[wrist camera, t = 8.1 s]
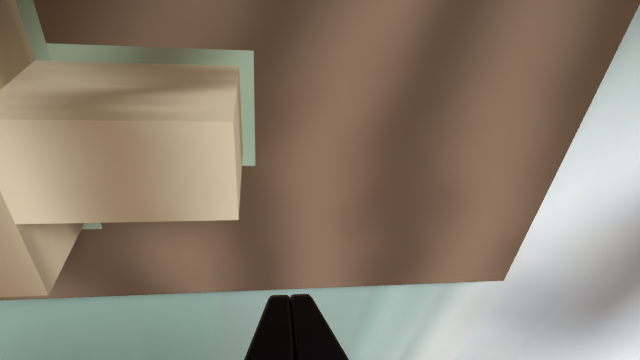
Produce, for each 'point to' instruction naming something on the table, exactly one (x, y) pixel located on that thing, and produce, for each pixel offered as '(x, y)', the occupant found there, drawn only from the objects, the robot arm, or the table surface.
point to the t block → (106, 151)
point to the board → (349, 134)
